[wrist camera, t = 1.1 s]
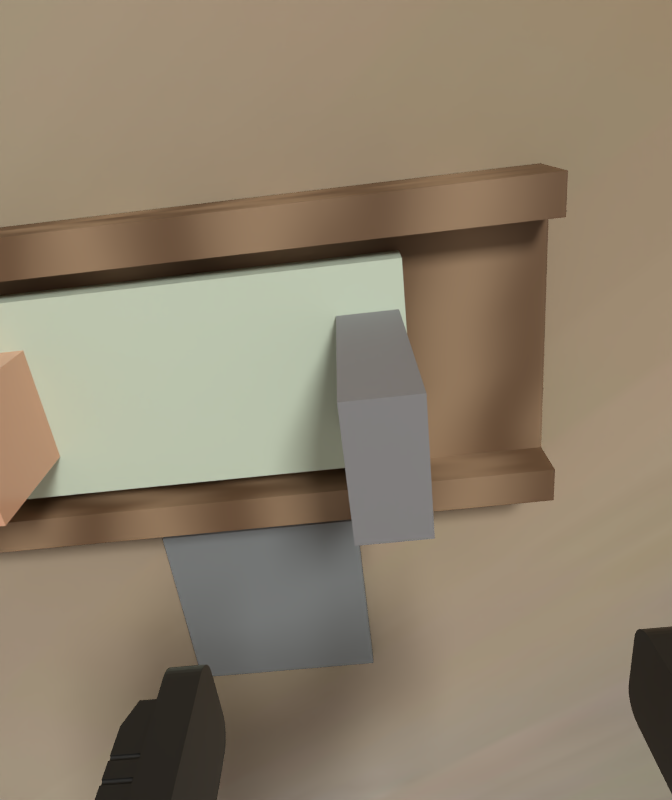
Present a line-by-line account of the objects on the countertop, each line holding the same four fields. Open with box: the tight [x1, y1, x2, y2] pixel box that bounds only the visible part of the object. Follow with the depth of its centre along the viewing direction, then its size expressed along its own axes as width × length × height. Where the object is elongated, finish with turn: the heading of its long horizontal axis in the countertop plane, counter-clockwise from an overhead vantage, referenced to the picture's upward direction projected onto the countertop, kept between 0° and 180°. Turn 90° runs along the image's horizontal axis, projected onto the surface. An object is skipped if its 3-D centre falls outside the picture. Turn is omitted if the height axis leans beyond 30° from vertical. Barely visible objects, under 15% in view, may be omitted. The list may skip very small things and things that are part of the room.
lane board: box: [0, 163, 568, 553], centre depth 27 cm, size 30×14×3 cm, turn 96°
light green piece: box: [0, 250, 435, 546], centre depth 23 cm, size 22×9×9 cm, turn 96°
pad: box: [163, 519, 373, 676], centre depth 34 cm, size 10×10×1 cm
